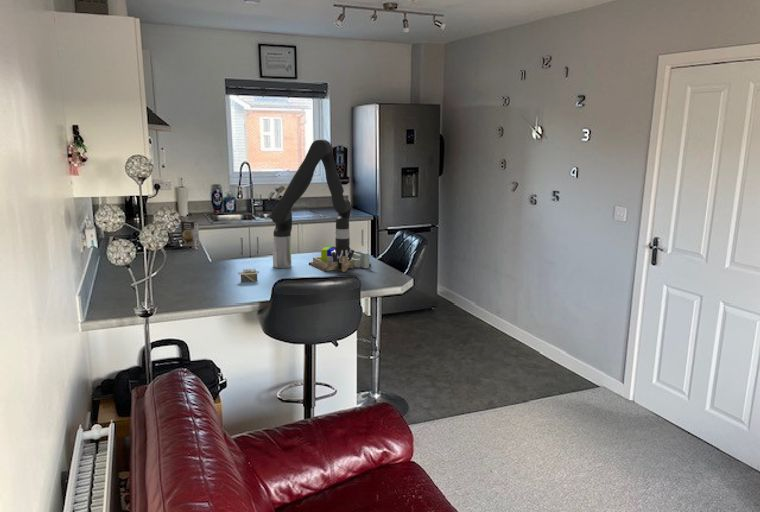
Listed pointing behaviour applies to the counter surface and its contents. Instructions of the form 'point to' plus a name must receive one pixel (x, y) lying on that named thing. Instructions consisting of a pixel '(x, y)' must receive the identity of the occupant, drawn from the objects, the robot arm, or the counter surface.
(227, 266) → the counter surface
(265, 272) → the counter surface
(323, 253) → the puzzle toy
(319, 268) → the lane rails
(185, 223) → the coffee box
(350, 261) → the beige lumpy mound
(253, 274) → the wooden crate
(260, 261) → the counter surface
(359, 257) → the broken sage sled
